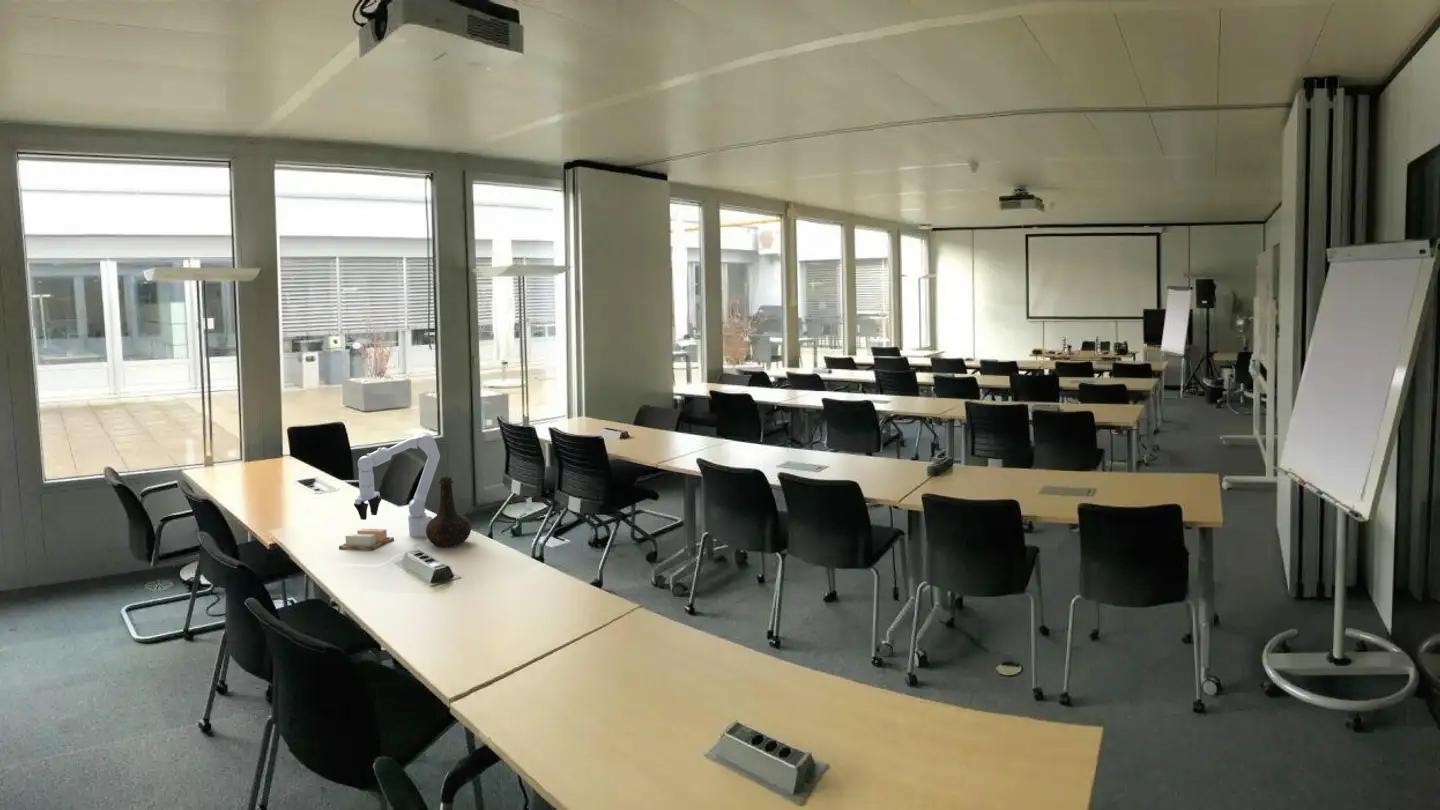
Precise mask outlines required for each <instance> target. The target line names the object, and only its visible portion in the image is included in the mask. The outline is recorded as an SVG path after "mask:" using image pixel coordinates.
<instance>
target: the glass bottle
mask: <svg viewBox="0 0 1440 810" xmlns="http://www.w3.org/2000/svg"><path fill="white" fill-rule="evenodd" d="M453 483H454V480H453V478H452V476H443V477H440V479H439V482H438V484H440V489H439V490H440V492H439V493H440V497H439V498H440V499H439V507H438V512H437V514H436V515H435V516H434V517H432V520H430V522H429V523H428V524H427V527H426V535H427V537H426V538H427V539H428V540H429V542H430V543H431V544H432V545H434V546H436V547H438V548H453V547H458V546H460V545H461V544H463V543H465V542H466V541H467V539H468V538H469V537H470V534H471V532H472V523H471V522H470V520H469V518H468V517H466V516H465V515H463V514H459V513H457V511H456V507H455V502H454V494H453V486H452V484H453Z"/></svg>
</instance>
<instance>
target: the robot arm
mask: <svg viewBox="0 0 1440 810" xmlns="http://www.w3.org/2000/svg"><path fill="white" fill-rule="evenodd" d="M418 447H419V449H421V450H422V451H423V452H424V453H425V455H426V457H427V459H426V462H425V463H424V464H425V465H424V467H423V470H422V474H421V476H420V479H419V482H418V486H417V488H416V491H415V493H414V496H413V498H412V499H411V500H410V501H409V503H408V511H409V514H408V515H407V517H408V531H409V534H408V535H409V537H411V538H420V537H421V538H428V537H427V535H426V527H427V524H428V523H429V522H430V520H432V519H433V517H432V516H429V515H427V513H426V512H425V511H426V508H425V505H426V501H427V496H428V494H429V490H430V487H431V485H432V482H433V479H434V477H435V476H434V475H435V473H436V471H437V467H438V464H439V461H440V460H441V459H440V458H441V453H440V451H439V448H438V444H437V442H436V440H435V439H434V437H433V436H432V434H430V433H429V432H422V433H420V434H417V435H414V436H412V437H409V438H408V439H405V440H403V441H402V442H398V443H397V444H395V445H393V446H391V447H389V448H388V447H378V448H377V450H375V451H373V452H371V453H369V452H368V453H366V455H363V456H361V457H359V459H358V460H357V468H358V484H359V485H358V486H359V487H358V488H359V495H357V498H356V499H354V503H353V506H354V507H355V509H356V511H357V513H358V515H359V518H360V520H361V521H364V520H367V515H368V513H367V512H368V507H369V509H370V514H371V516H378V512H379V511H378V510H379V506H380V504H381V501H382V497H381V495H380V494H381V493H380V491H375V479H374V478H375V475H374V471H373V470H374V469H373V468H374V467H378V466H380V465H382V464H384V463H385V462H388V461H390V460H391V459H392V456H394V455H396V454H399V453H401V452H403V451H406V450H409V449H416V450H417V449H418ZM365 502H367V503H365Z"/></svg>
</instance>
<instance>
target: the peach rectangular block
mask: <svg viewBox="0 0 1440 810" xmlns="http://www.w3.org/2000/svg"><path fill="white" fill-rule="evenodd" d="M356 534H374V535H375V541H385V540H387V537H388V534H387V529H385V528H383V529H382V528H360V529H358V530H357V533H356Z"/></svg>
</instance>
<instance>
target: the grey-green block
mask: <svg viewBox="0 0 1440 810" xmlns="http://www.w3.org/2000/svg"><path fill="white" fill-rule="evenodd" d="M345 543H346V546H362V547H373V546H375V545H376V541H375V535H374V534H358V533H349V534H347V535H345Z"/></svg>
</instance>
